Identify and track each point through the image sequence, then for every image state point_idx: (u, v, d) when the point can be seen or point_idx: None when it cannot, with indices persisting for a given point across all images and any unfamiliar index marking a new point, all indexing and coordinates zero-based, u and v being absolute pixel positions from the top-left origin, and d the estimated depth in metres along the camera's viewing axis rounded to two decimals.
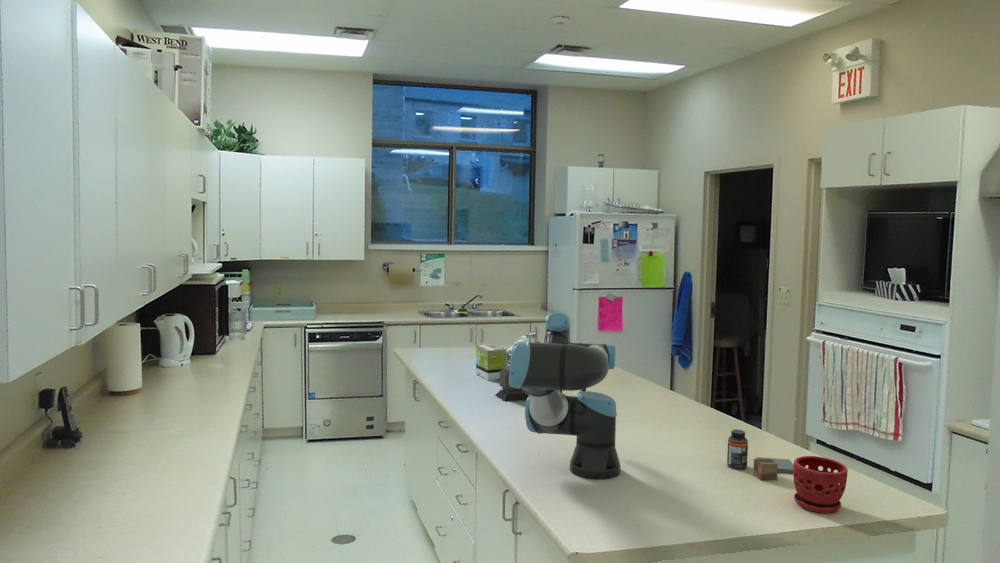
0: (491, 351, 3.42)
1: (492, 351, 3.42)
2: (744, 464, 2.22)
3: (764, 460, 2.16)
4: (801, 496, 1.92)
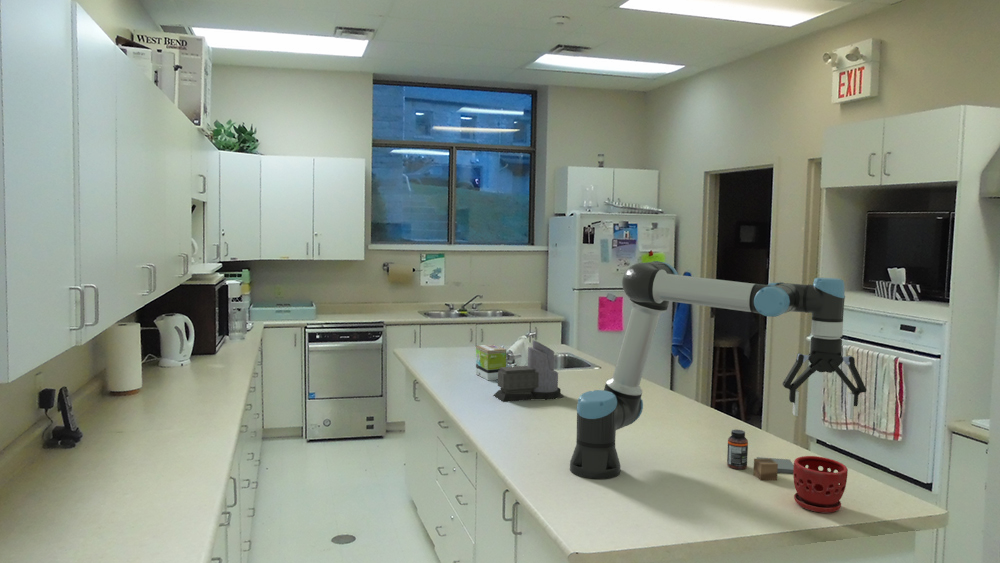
0: (491, 351, 3.42)
1: (492, 351, 3.42)
2: (744, 464, 2.22)
3: (764, 460, 2.16)
4: (801, 496, 1.92)
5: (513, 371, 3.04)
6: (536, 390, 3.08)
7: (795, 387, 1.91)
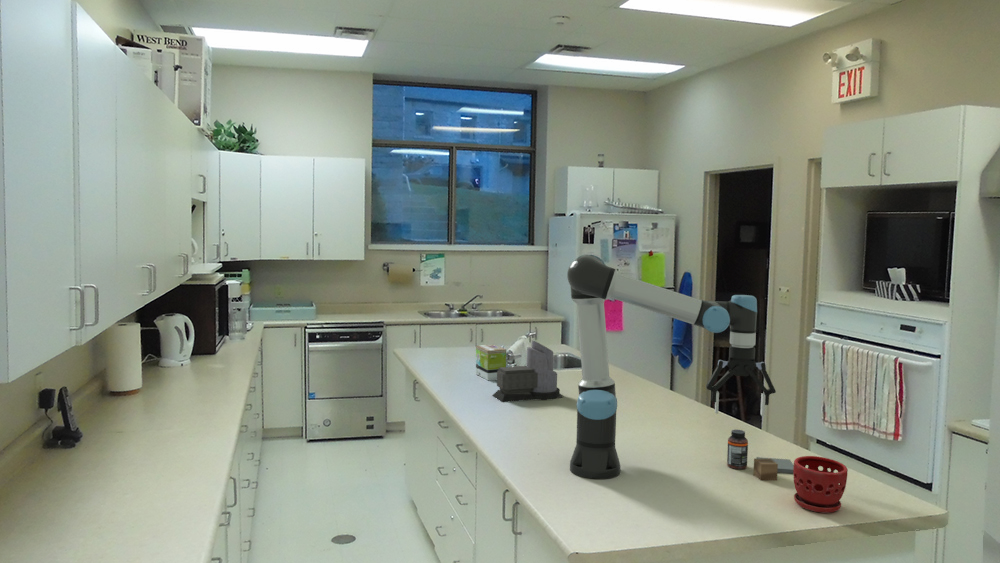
0: (491, 351, 3.42)
1: (492, 351, 3.42)
2: (744, 464, 2.22)
3: (764, 460, 2.16)
4: (801, 496, 1.92)
5: (512, 371, 3.04)
6: (535, 390, 3.08)
7: (716, 389, 2.23)
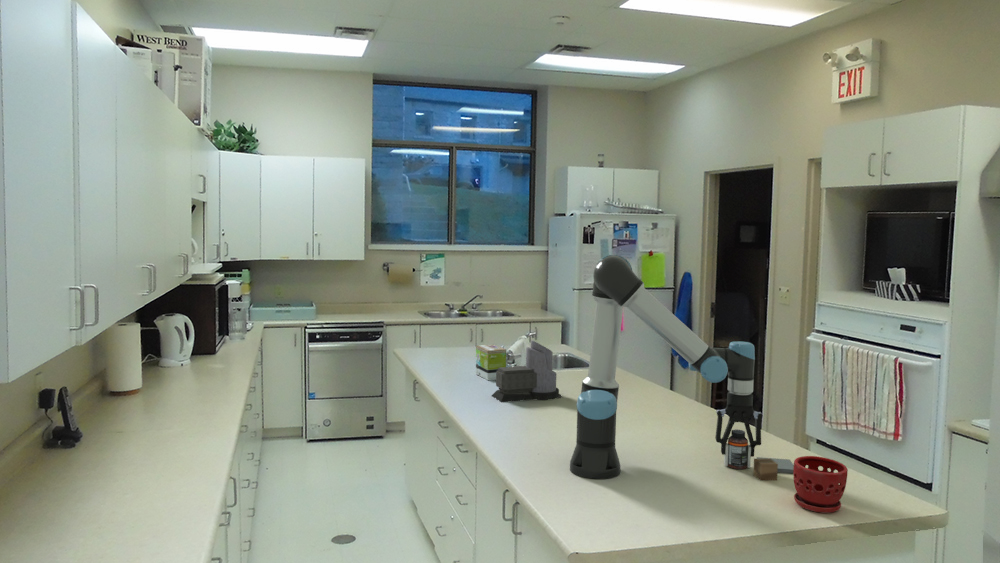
0: (491, 351, 3.42)
1: (492, 351, 3.42)
2: (744, 464, 2.22)
3: (764, 460, 2.16)
4: (801, 496, 1.92)
5: (511, 371, 3.04)
6: (534, 390, 3.08)
7: (725, 441, 2.24)
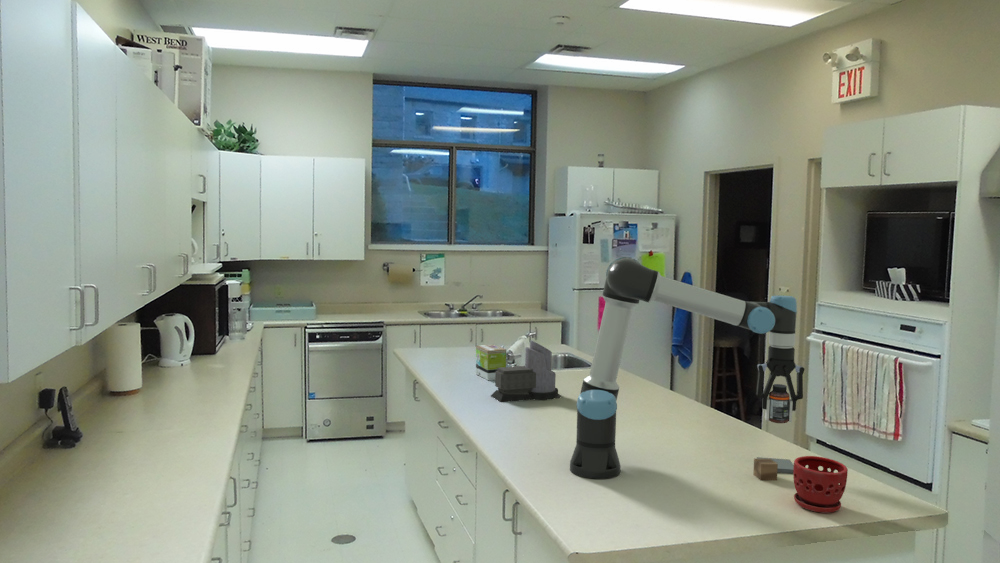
0: (491, 351, 3.42)
1: (492, 351, 3.42)
2: (786, 418, 2.21)
3: (764, 460, 2.16)
4: (801, 496, 1.92)
5: (510, 371, 3.04)
6: (533, 390, 3.08)
7: (766, 395, 2.23)
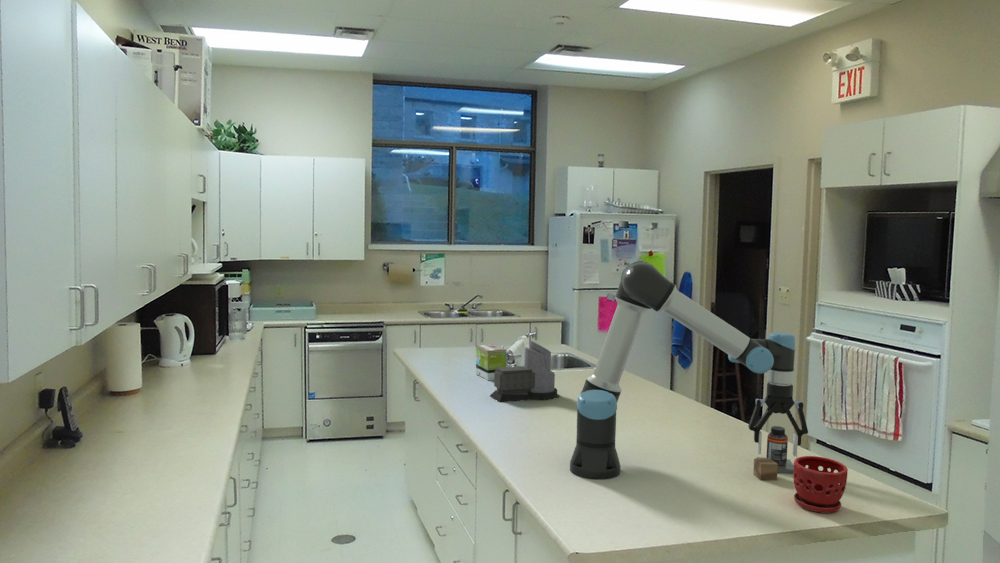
0: (491, 351, 3.42)
1: (492, 351, 3.42)
2: (784, 460, 2.22)
3: (764, 460, 2.16)
4: (801, 496, 1.92)
5: (509, 371, 3.04)
6: (532, 390, 3.08)
7: (758, 429, 2.24)
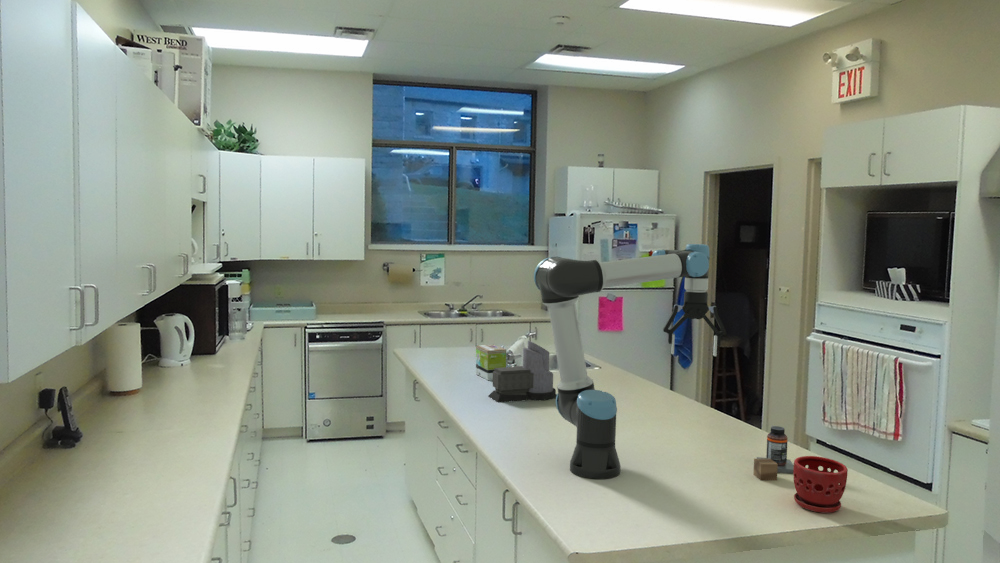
0: (491, 351, 3.42)
1: (492, 351, 3.42)
2: (784, 460, 2.22)
3: (764, 460, 2.16)
4: (801, 496, 1.92)
5: (508, 371, 3.03)
6: (531, 391, 3.07)
7: (672, 331, 2.40)
